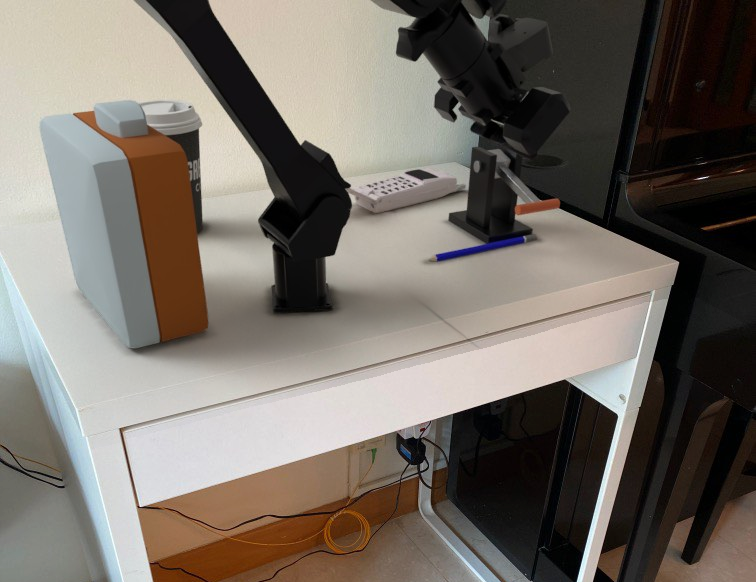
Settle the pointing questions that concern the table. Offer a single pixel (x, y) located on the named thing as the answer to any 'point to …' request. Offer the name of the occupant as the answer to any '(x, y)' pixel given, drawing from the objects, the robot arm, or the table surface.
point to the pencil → (482, 248)
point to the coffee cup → (180, 139)
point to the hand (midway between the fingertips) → (533, 156)
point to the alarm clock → (128, 221)
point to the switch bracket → (490, 200)
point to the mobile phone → (405, 190)
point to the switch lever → (521, 188)
